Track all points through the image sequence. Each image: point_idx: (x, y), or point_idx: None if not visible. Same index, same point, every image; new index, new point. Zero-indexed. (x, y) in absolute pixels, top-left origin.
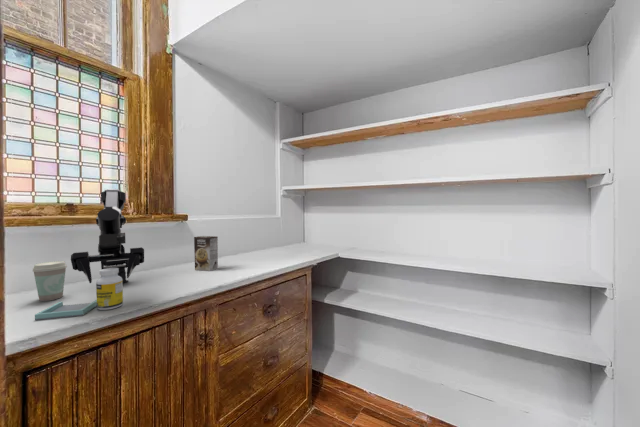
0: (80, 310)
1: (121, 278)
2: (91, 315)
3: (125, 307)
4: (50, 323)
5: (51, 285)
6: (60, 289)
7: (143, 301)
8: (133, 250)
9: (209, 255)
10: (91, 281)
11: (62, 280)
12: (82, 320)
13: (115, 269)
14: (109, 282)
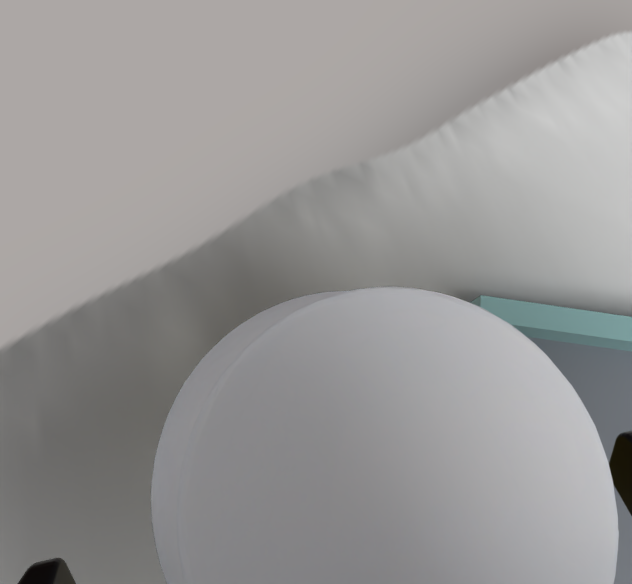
0: (497, 299)
1: (155, 474)
2: (396, 277)
3: (167, 380)
4: (613, 223)
5: None
6: None
7: (10, 525)
8: None
9: None
10: (627, 494)
11: None
12: (419, 186)
13: (227, 383)
14: (308, 296)
